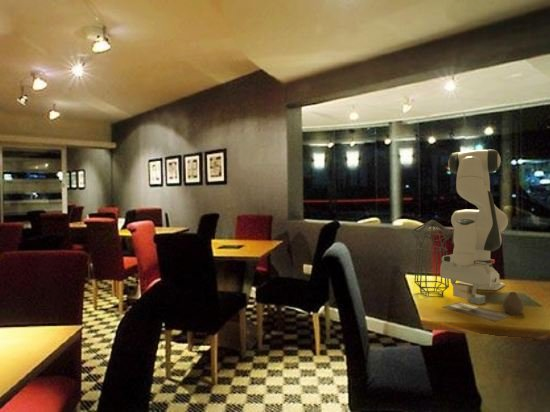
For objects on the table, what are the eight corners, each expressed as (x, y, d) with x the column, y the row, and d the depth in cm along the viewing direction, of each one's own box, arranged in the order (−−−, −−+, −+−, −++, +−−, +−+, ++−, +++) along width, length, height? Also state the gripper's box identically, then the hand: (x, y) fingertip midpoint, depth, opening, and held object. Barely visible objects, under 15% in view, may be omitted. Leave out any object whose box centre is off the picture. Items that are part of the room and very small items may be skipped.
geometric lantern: (420, 298, 186) (420, 221, 184) (409, 290, 201) (410, 219, 200) (455, 299, 185) (456, 221, 184) (442, 290, 201) (443, 219, 199)
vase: (514, 318, 158) (515, 295, 157) (498, 313, 164) (499, 291, 164) (527, 316, 160) (527, 293, 160) (510, 311, 167) (511, 289, 166)
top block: (473, 302, 180) (473, 293, 180) (485, 305, 176) (485, 295, 176) (467, 304, 177) (467, 295, 177) (479, 307, 173) (479, 297, 173)
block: (461, 293, 173) (461, 282, 173) (475, 296, 168) (475, 284, 168) (453, 295, 170) (453, 283, 170) (466, 299, 165) (467, 286, 165)
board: (459, 304, 176) (459, 301, 176) (513, 317, 158) (513, 314, 158) (441, 309, 169) (441, 306, 169) (495, 324, 151) (495, 321, 151)
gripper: (494, 261, 162) (493, 296, 162) (447, 255, 179) (446, 286, 179) (485, 263, 158) (484, 299, 159) (438, 256, 175) (437, 288, 176)
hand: (464, 292), depth 169 cm, fingers closed on block, 6 cm apart
